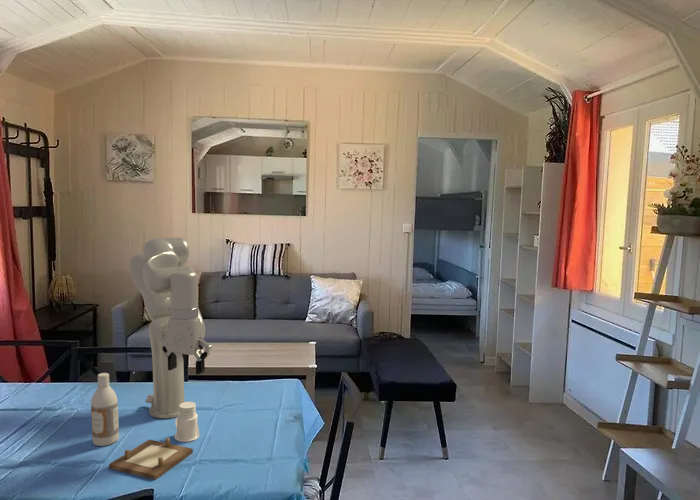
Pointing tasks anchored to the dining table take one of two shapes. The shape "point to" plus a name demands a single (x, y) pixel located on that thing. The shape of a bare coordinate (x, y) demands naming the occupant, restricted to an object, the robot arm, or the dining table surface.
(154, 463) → the pin board
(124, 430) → the dining table surface
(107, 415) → the bath foam
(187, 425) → the downlight
